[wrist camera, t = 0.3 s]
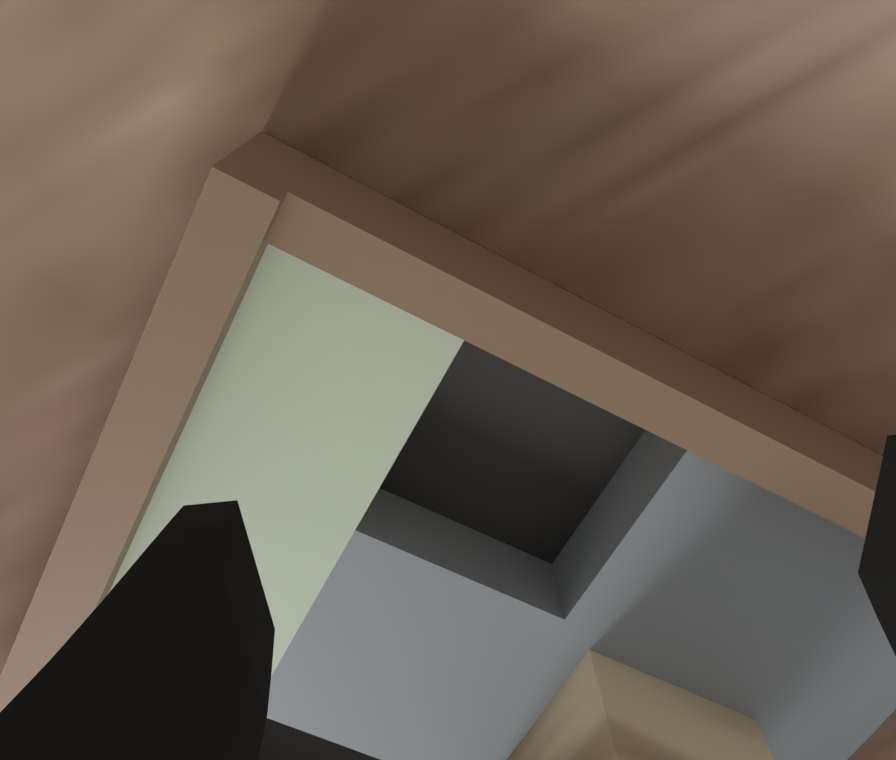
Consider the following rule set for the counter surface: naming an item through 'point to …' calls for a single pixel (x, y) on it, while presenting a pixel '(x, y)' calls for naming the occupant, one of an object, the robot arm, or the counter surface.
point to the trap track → (466, 488)
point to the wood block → (636, 721)
